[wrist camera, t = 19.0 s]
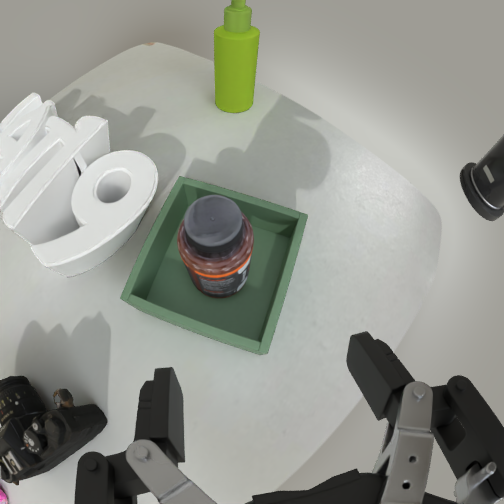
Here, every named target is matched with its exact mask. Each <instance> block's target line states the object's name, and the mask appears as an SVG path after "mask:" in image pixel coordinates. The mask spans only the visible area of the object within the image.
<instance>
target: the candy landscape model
mask: <svg viewBox="0 0 504 504" xmlns="http://www.w3.org/2000/svg"><path fill="white" fill-rule="evenodd" d="M0 504H8V500H7V496H6V494H5V493H4V492H3V491H2V490H1V489H0Z"/></svg>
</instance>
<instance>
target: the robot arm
mask: <svg viewBox="0 0 504 504" xmlns="http://www.w3.org/2000/svg"><path fill="white" fill-rule="evenodd" d="M470 180H471V183H472V186H473V188H474V190H475V192H476V193H477V195H478V197H479V198H480V199H481V201H482V202H483V203H484V204H485V205H486V206H487V207H489V208H490V209H492V210H499V209H500V210H503V209H504V135H503V136H502V137H501V138H500V139H499V141H498V142H497V143H496V144H495V145H494V146H493V147H492V148H491V150H490V151H489V152H488V153H487V154H486V155H485V156H484V157H483V158H482V159H481V160H480V161H479V162H478V163H477V164H476V165H475V166H474V167H473V168H472V169H471V170H470ZM347 366H348V369H349V371H350V373H351V375H352V376H353V378H354V380H355V381H356V383H357V385H358V387H359V388H360V390H361V392H362V393H363V395H364V397H365V399H366V400H367V402H368V404H369V405H370V407H371V409H372V411H373V412H374V414H375V416H376V418H377V420H381V419H383V418H387V420H388V423H387V427H386V431H385V435H384V439H383V443H382V446H381V450H380V454H379V457H378V460H377V462H376V464H375V466H374V469H373V471H372V473H359V472H358V470H357V469H354V470H351V471H348V472H346V473H343V474H340V475H337V476H334V477H332V478H330V479H328V480H326V481H325V482H323V483H321V484H319V485H317V486H315V487H314V488H312V489H309V490H303V491H276V492H271V493H265V494H260V495H254V496H252V498H253V500H252V501H250V502H247V503H245V504H496V503H498V502H499V501H501V500H503V499H504V427H503V426H502V424H501V423H500V421H499V420H498V418H497V417H496V415H495V414H494V413H493V411H492V410H491V408H490V407H489V405H488V404H487V403H486V401H485V400H484V399H483V397H482V396H481V395H480V393H479V392H478V390H477V389H476V388H475V387H474V385H473V384H472V383H471V381H470V380H469V379H468V378H466V377H464V376H459V375H458V376H454V377H452V378H451V379H450V380H449V381H448V383H447V385H442V386H436V387H429V386H428V385H427V384H425V383H423V382H418V381H415V380H414V379H413V377H412V376H411V375H410V373H409V372H408V371H407V369H406V368H405V367H404V365H403V364H402V363H401V362H400V360H399V359H398V358H397V356H396V355H395V354H393V351H392V350H391V349H390V347H389V346H388V345H387V344H386V343H384V342H383V341H381V340H379V339H376V340H374V339H373V338H372V336H371V335H370V334H369V333H368V332H367V331H366V332H362V333H358V334H355V335H352V336H351V337H350V342H349V348H348V353H347ZM456 416H457V417H456ZM461 424H462V425H461ZM463 427H464V428H463ZM430 430H431V432H430ZM434 437H435V439H436V441H437V443H438V445H439V446H440V448H441V450H442V452H443V454H444V456H445V457H446V459H447V461H448V463H449V464H450V467H451V469H452V471H453V473H454V474H455V476H456V478H457V482H456V484H455V491H454V496H455V497H456V502H454V501H451V500H447V499H444V498H441V497H438V496H435V495H432V494H429V493H427V492H425V488H426V483H427V478H428V473H429V468H430V462H431V456H432V449H433V442H434ZM178 462H185V451H184V417H183V394H182V390H181V387H180V385H179V382H178V380H177V377H176V374H175V372H174V369H173V368H172V367H169V368H157V369H155V372H154V380H153V381H146V382H145V383H144V385H143V386H142V388H141V390H140V396H139V403H138V411H137V420H136V429H135V438H134V441H133V443H131V444H130V445H129V446H128V448H127V450H126V451H124V452H121V453H118V454H114V455H110V456H106V457H104V456H103V455H102V454H100V453H98V452H88V453H85V454H84V455H83V456H82V457H81V458H80V459H79V461H78V467H77V477H76V489H75V504H137V495H139V494H143V493H147V492H152V493H153V494H154V496H155V497H156V498H157V499H158V502H159V503H160V504H217V503H216V502H215V501H213V500H212V499H211V498H210V497H209V496H208V495H207V494H205V493H204V492H203V491H202V490H201V489H200V488H199V487H198V486H197V485H196V484H195V483H193V482H192V481H191V480H190V479H188V478H187V477H186V476H185V475H184V474H183V473H182V472H181V471H180V470H179V469H178Z"/></svg>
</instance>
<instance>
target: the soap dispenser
mask: <svg viewBox="0 0 504 504" xmlns="http://www.w3.org/2000/svg"><path fill="white" fill-rule="evenodd" d="M245 2H246V0H232V2H231V5H230V6H228V7H226V8H225V9H224V25H222V26H220V27H218V28H216V29H215V30H214V65H215V103H216V106H217V107H218V108H219V109H221V110H223V111H225V112H230V113H239V112H243V111H246V110H248V109H249V108H250V107H251V106H252V104H253V96H254V86H255V74H256V65H257V54H258V45H259V35H260V31H259V30H258V29H257V28H255V27H253V26H251V25H250V24H251V14H252V10H251V8H250V7H248V6H246V5H245Z"/></svg>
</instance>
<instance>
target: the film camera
mask: <svg viewBox="0 0 504 504" xmlns="http://www.w3.org/2000/svg"><path fill="white" fill-rule="evenodd" d="M57 394H58V396H59V397H60V399H61V401H60V402H58V403H57V402H55V399H54V403H55V404H56V405H57V409H55V410H51V411H47V410H46V408H45V406H44V404H43V402H42V401H41V399H40V398H39V396H38V394H37V392H36V390H35V389H34V387H32V386H31V384H30V382H29V380H28V379H27V378H26V377H25V376H10V377H8V378H5V379H2V380H0V424H1V426H2V427H1V428H0V478H1V479H3V480H4V481H6V482H8V483H12V482H13V483H14V484H16V485H19V480H23V479H27V478H31V477H33V476H36V475H39V474H42V473H45V472H47V471H49V470H50V469H52V468H54V467H55V466H57V465H58V464H59V463H61V462H62V461H64V460H65V459H66V458H68V457H69V456H70V455H72V454H73V453H75V452H76V451H77V450H78V449H80V448H81V447H83V446H84V445H85V444H86V443H88V442H89V441H91V440H92V439H93V438H94V437H95V436H96V435H97V434H99V433H100V432H101V431H102V430H103V428H104V427H105V426H106V424H107V419H106V417H105V415H104V413H103V412H102V411H101V410H100V409H99V407H98V406H97V405H95V404H88V405H82V406H77V407H75V406H74V405H73V397H72V395H71V394H70V392H69V391H68V390H67V389H57V390H56V391H55V392H54V395H53V398H54V397H55V396H56V395H57Z"/></svg>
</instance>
